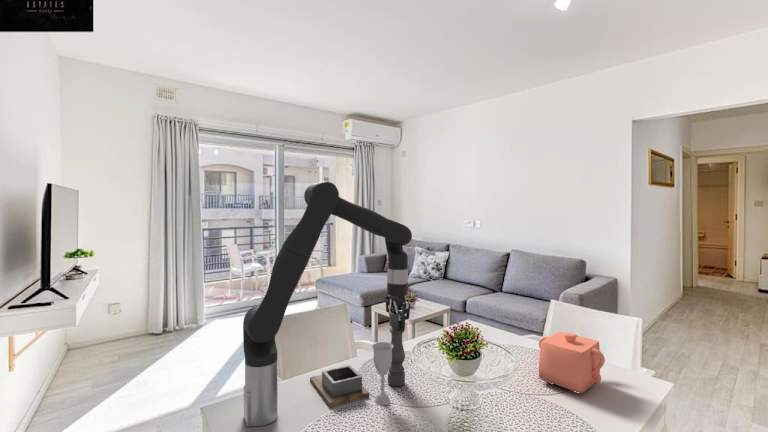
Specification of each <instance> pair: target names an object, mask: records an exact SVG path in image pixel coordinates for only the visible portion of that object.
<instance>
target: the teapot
mask: <svg viewBox="0 0 768 432" xmlns="http://www.w3.org/2000/svg"><path fill="white" fill-rule="evenodd" d="M538 347H539V356H538V357H539V361H538V379H539V380H542V381H545V382H547V383H548V382H550V383H553V384H556V385H557V386H559V387H561V388H564V389H568V390H570V391H572V390H573V391H576V392H579V393H580V394H583V393H584V392H586V391H587V390H588V389H590V388H591V387H592V386H594V385H595V384H596V383H600V382H601V380H602V376H601V369H602V368H603V366H604V365H605V362H606V359H605V356H604V353H603V352H601V349H600V342H599V340H596V339H592V338H588V337H585V336H584V337H583V336H580V335H577V334H576V333H572V332H563V331H559V332H555V333H554V334H552V335H550V336H548V335H545V336H543V337H541V338H540V339H539V341H538ZM556 385H555V386H556ZM573 391H572V392H573ZM579 393H578V394H579Z"/></svg>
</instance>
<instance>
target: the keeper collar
mask: <svg viewBox="0 0 768 432" xmlns="http://www.w3.org/2000/svg"><path fill="white" fill-rule="evenodd" d="M321 375H322V386H323V387H324V388H325V390H326V391H327V392H328V393H329V395H330V396H331V397H332V398H333V399H334V398H338V397H342V396H346V395H350V394H354V393H358V392H362V386H363V376H362V375H361V374H360V373H359V372H358V371H357V370H356V369H355V368H354V367H352V365H350V364H349V365H343V366H340V367H335V368H330V369H325V370H322V371H321Z"/></svg>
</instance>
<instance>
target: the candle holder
mask: <svg viewBox="0 0 768 432" xmlns="http://www.w3.org/2000/svg"><path fill="white" fill-rule="evenodd" d="M401 316H402V313H401ZM388 319H389V320H388V323H389V326H390V325H391V326H390V328H389V332H390V334H391V342H390V343H391V344H393V348H392V362H391V365H390V368H389V370H388V372H387V383H388V385H390V386H393V387H394V386H395V387H400V386H403V385H405V383H406V373H405V372H406V371H405V367H404V366H403V362H404V361H405V360H406V353H405V349H404V344H403V343H404V342H403V333H404V332H405V330H404V331H399V330H398V320H399V318H398V314H396V311H394V310H393V311H390V312H389V314H388Z"/></svg>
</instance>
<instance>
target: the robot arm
mask: <svg viewBox="0 0 768 432" xmlns="http://www.w3.org/2000/svg"><path fill="white" fill-rule="evenodd" d="M303 196H304V201H305V204H306V205H307V206H306V208H305V211H304V213H303V214H302V217H301V219H300V220H299V222H298V223H297V224H296V226H295V227H294V228H293V229H292V231H291V232H290V233H289V234H288V236H287V237H286V238H285V240H284V241H283V244H282V245H281V247H280V249H279V250H278V251H279V252H278V254H277V255H276V258H275V261H274V263H273V266H272V269H271V274H270V279H269V282H268V287H267V289H266V292H265V294H264V297H263V299H262V301H261V302H260V304H257V305H254V306H252V307H251V308H249V309H248V310H247V312H245V315H244V317H243V322H242V323H243V325H242V333H243V334H242V335H243V340H242V341H243V354H244V386H243V419H244V421H245V425H246V427H261V426H267V425H269V424H271V423H273V422H274V421H275V420H276V419H277V418H278V410H279V409H278V408H279V406H278V349H277V343H276V336H277V334H278V332H279V330H280V328H281V325H282V323H283V319H284V316H285V313H286V311H287V309H288V306H289V303H290V300H291V298H292V296H293V294H294V292H295V290H296V288H297V286H298V284H299V282H300V280H301V278H302V275H303V273H304V272H305V270H306V267H307V265H308V263H309V261H310V260H311V256H312V254H313V251H314V250H315V247H316V245H317V243H318V241H319V238H320V236H321V233H322V231H323V229H324V227H325V225H326V223H327V222H328V221H329V218H330V217H331V216H332V215H333V216H335V217H338V218H340V219H342V220H344V221H346V222H349V223H351V224H352V225H354V226H356V227H359V228H360V229H363V230H364V231H367V232H368V233H371V234H372V235H374V236H378V237H383V238H384V241H385V247H386V249H385V250H386V251H387V256H388V257H387V258H388V259H387V273H386V294H387V295H385V298H384V299H385V300H384V301H385V310H386V311H385V312H386V313H388V315H389V312H390V311H396V314H398V318H399V320H398V330H399V331H404V332H405V329H406V320H410V314H411V313H410V312H411V303H410V302H407V301H406V300H407V299H406V296H407V295H408V294H409V271H408V268H409V267H408V266H409V265H408V263H409V262H408V261H409V258H408V257H409V256H408V254H407V252H405V251H404V248H403V246H406V245H408V244H409V243H411V241H412V237H413V235H412V234H413V233H412V231H411V229H410V228H409V227H407V226H406V225H405V224H403V223H400V222H397V221H395V220H392V219H389V218H387V217H385V216H384V215H381V214H380V213H378V212H375V210H372V209H369V208H367V207H364V206H362V205H359V204H355V203H353V202H350V201H349V200H346V199H344V198H342V197H340V192H339V189H338V187H337V186H336V185H335V184H334V183H333V182H331V181H319V182H314V183H312V184H310V185H308V186H307V188H306V189H305V191H304V194H303ZM401 313H402V316H401ZM389 326H390V327H391V325H390V324H389Z"/></svg>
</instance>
